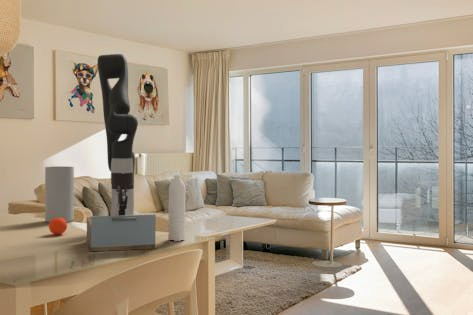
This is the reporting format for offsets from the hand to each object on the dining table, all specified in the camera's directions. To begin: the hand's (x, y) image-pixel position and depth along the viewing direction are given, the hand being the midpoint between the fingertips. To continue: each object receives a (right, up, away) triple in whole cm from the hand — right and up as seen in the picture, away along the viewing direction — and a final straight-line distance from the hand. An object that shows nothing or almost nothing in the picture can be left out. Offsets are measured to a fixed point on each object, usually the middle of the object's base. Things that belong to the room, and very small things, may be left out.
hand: (121, 220), depth 195 cm
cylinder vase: (-41, -8, +62) cm, 75 cm away
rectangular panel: (+2, -8, -5) cm, 10 cm away
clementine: (-31, -9, +26) cm, 41 cm away
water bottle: (+19, -10, +17) cm, 27 cm away
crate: (-2, -9, +5) cm, 11 cm away
